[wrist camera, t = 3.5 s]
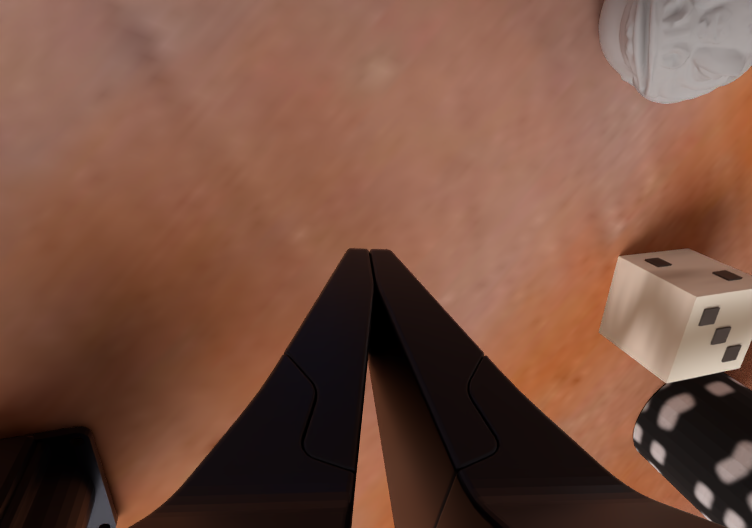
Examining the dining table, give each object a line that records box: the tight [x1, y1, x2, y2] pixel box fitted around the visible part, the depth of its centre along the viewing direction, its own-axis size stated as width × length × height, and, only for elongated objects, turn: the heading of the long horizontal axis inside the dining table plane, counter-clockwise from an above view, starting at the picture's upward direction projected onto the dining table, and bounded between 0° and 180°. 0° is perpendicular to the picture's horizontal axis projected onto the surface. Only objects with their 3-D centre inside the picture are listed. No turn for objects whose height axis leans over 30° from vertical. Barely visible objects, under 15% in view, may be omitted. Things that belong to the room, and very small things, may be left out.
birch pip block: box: [599, 248, 752, 383], centre depth 25 cm, size 5×5×5 cm
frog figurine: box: [599, 0, 752, 104], centre depth 17 cm, size 6×7×7 cm
